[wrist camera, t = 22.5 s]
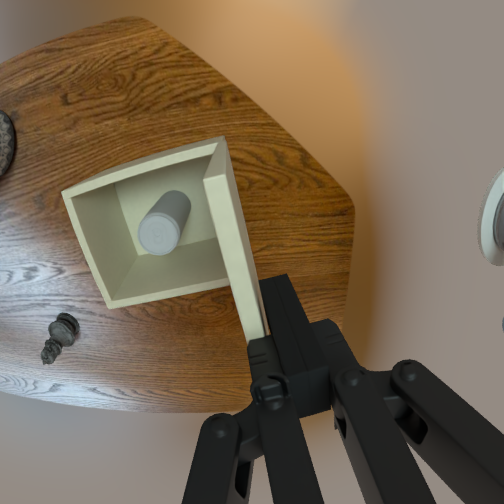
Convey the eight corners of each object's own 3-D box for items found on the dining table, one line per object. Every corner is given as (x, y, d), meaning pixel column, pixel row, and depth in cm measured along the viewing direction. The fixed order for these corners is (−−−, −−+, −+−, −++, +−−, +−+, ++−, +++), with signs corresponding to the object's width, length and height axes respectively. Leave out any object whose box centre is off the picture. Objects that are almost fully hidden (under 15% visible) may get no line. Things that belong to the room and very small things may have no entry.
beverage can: (191, 188, 42) (177, 213, 31) (192, 221, 44) (181, 256, 33) (157, 190, 42) (133, 215, 31) (160, 222, 43) (138, 257, 33)
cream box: (136, 259, 47) (108, 309, 34) (106, 169, 40) (60, 192, 28) (247, 234, 46) (254, 280, 34) (224, 135, 40) (221, 141, 27)
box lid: (276, 437, 16) (289, 434, 16) (201, 179, 10) (225, 173, 10) (251, 282, 33) (258, 281, 33) (217, 142, 27) (226, 140, 27)
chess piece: (85, 324, 51) (62, 366, 40) (74, 340, 53) (52, 381, 42) (61, 306, 49) (33, 345, 38) (51, 322, 51) (26, 361, 40)
